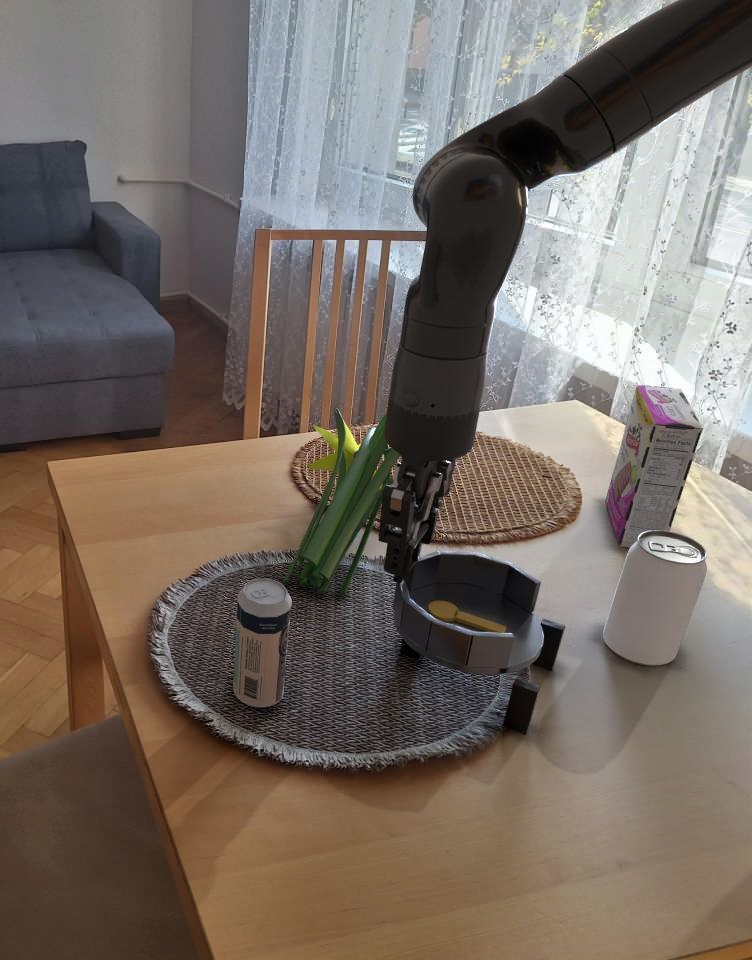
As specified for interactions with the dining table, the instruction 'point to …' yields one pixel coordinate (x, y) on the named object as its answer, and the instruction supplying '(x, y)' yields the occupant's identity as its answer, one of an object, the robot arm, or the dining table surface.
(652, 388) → the candy bar box
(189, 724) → the dining table surface
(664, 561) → the can
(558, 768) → the dining table surface
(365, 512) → the daffodil flowers
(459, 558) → the bowl
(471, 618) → the spoon
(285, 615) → the beer can
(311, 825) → the dining table surface
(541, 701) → the dining table surface
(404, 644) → the bowl stand
